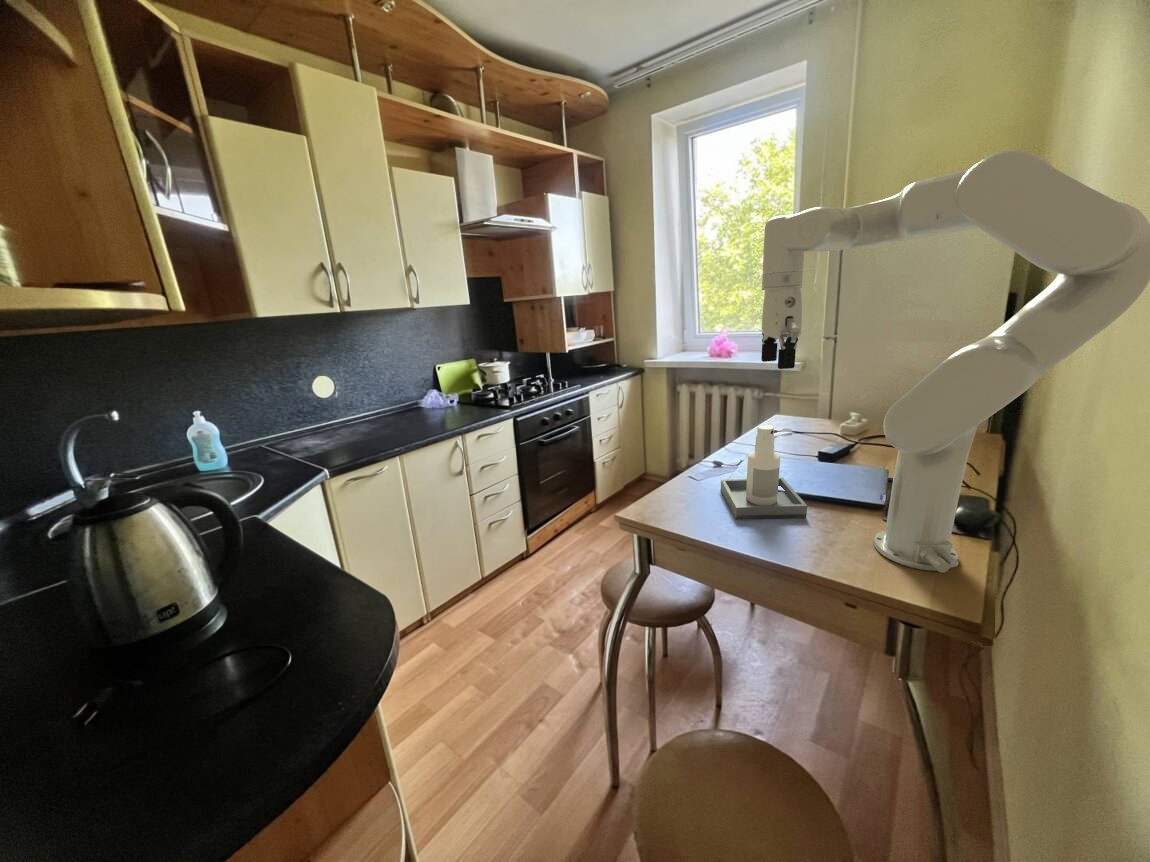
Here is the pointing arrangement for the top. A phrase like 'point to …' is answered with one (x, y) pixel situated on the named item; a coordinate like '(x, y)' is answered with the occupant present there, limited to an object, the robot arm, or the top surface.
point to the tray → (743, 509)
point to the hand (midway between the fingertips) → (777, 364)
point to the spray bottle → (763, 469)
